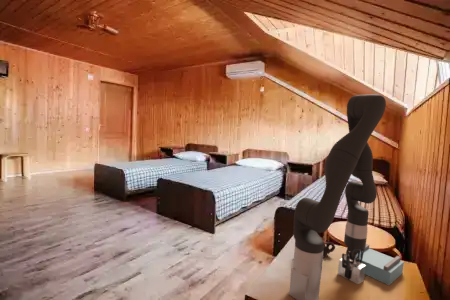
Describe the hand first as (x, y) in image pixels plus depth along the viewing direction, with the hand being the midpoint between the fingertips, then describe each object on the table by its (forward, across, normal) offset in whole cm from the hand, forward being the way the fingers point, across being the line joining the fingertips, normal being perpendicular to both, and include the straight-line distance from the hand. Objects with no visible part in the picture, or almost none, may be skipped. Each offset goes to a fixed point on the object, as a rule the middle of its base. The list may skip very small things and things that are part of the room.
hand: (351, 275), depth 102 cm
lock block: (+1, 0, 0) cm, 1 cm away
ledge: (+1, +14, -3) cm, 14 cm away
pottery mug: (+1, +7, +18) cm, 19 cm away
